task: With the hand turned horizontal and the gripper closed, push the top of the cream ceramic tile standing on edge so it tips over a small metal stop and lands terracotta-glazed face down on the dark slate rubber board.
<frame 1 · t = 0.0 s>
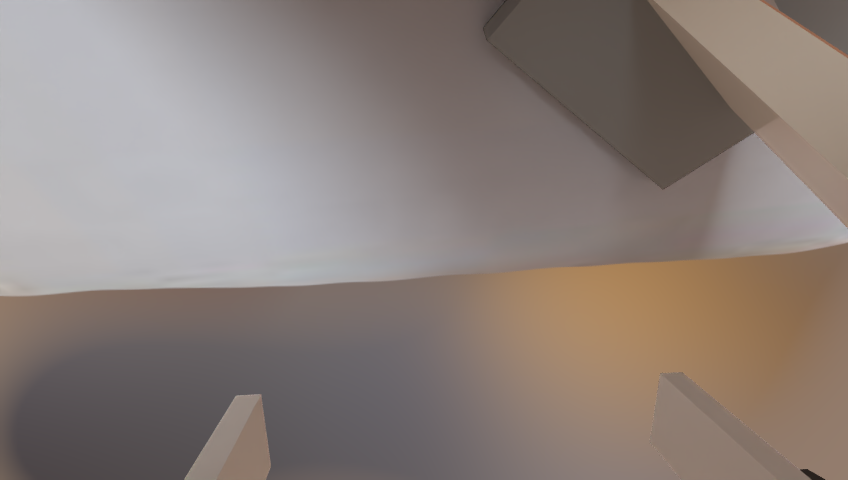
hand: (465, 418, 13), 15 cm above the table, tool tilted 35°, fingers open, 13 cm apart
tile: (705, 38, 18), point 1 cm above the table, touching board
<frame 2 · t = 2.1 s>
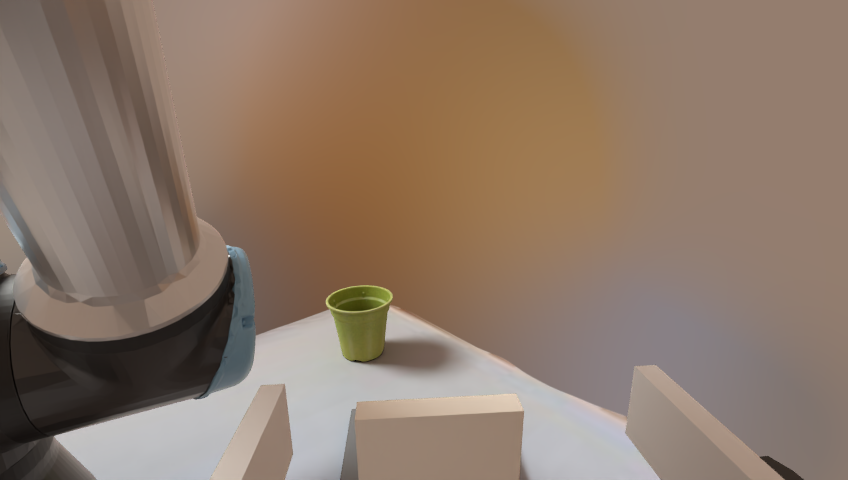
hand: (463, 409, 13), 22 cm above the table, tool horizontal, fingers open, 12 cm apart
plant pot: (362, 352, 59), on the table
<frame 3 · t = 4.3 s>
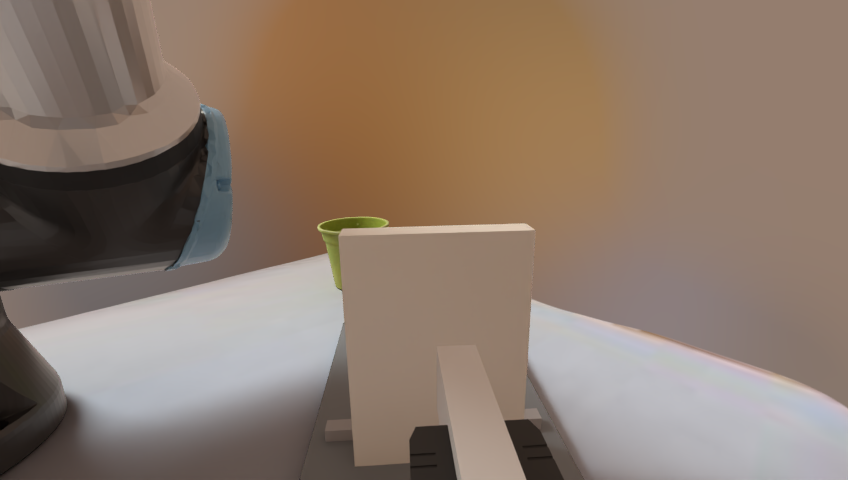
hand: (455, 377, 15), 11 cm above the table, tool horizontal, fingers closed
plant pot: (357, 285, 55), on the table
board: (429, 403, 30), on the table
tile: (438, 450, 24), point 1 cm above the table, touching board
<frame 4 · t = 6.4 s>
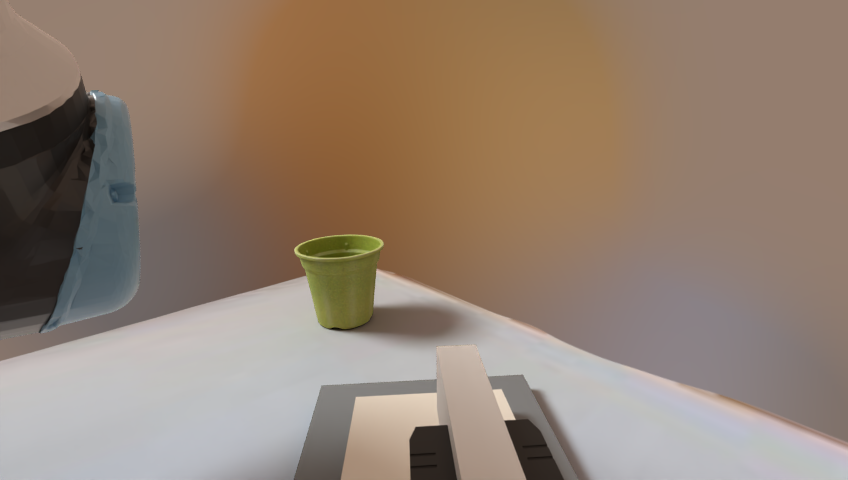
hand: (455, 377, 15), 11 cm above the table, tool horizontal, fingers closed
plant pot: (345, 320, 45), on the table
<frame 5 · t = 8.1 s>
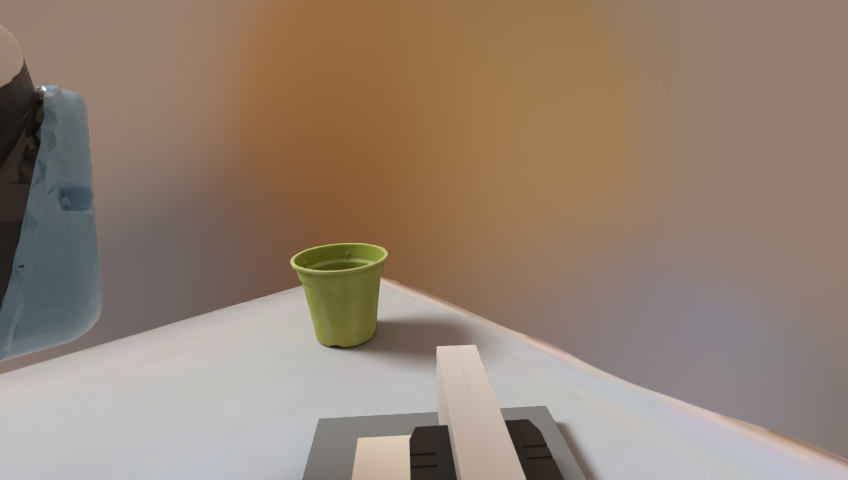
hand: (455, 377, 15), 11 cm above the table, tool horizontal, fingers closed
plant pot: (346, 336, 42), on the table
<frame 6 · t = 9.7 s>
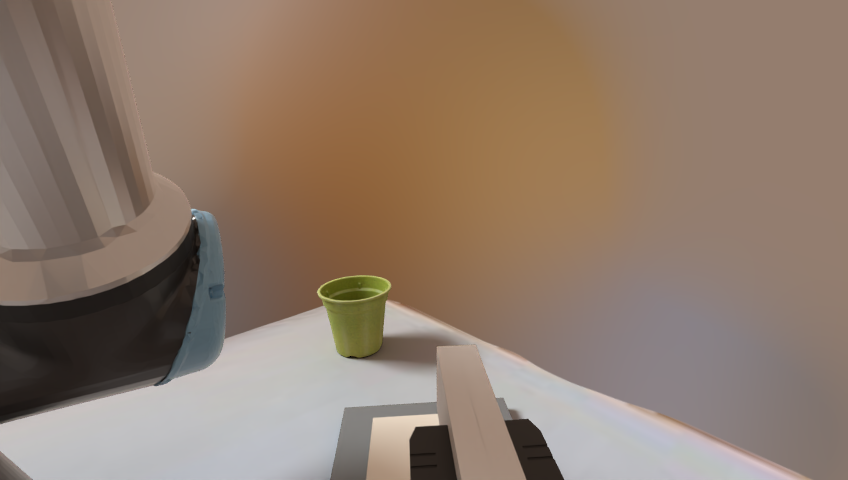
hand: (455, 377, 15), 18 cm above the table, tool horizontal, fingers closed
plant pot: (359, 348, 54), on the table
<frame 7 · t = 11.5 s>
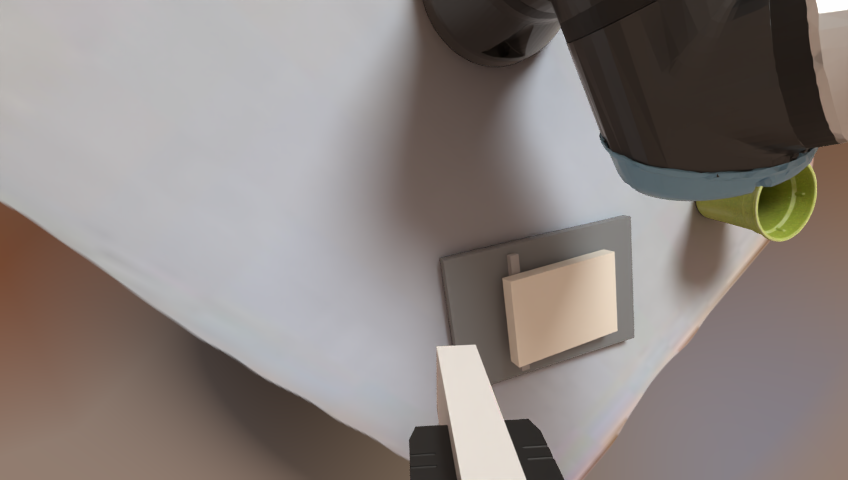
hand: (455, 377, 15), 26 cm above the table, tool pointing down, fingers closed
plant pot: (710, 194, 52), on the table
board: (542, 299, 47), on the table
tile: (510, 323, 43), point 3 cm above the table, tilted 94°, touching board
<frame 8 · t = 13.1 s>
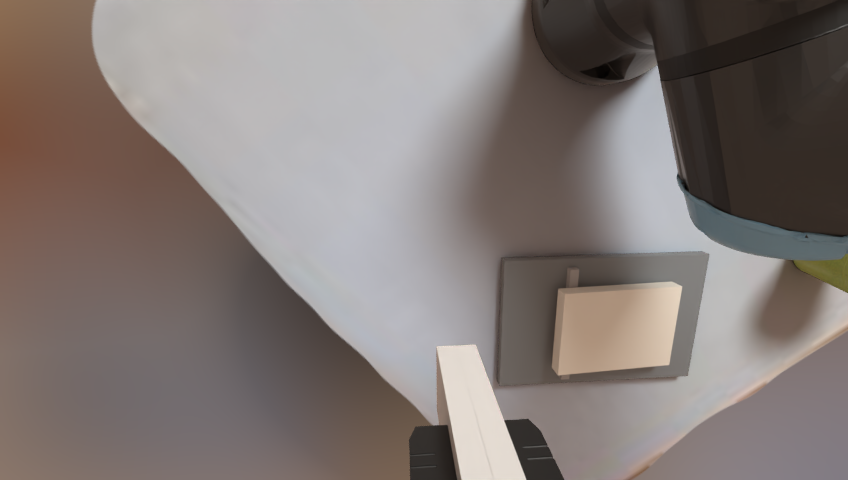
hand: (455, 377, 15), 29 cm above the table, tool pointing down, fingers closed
plant pot: (813, 247, 48), on the table
board: (596, 317, 48), on the table
tile: (558, 332, 45), point 3 cm above the table, tilted 94°, touching board
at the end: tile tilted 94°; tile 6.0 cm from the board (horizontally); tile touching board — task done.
